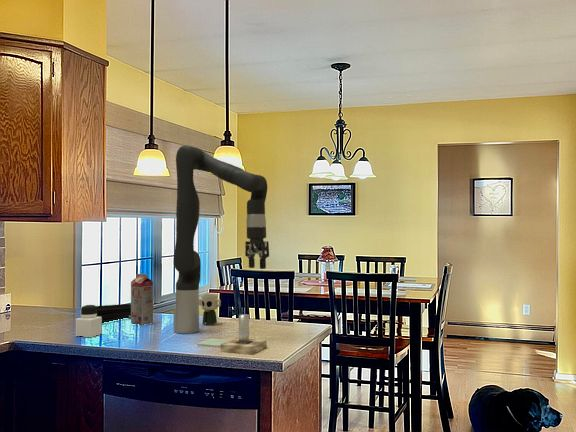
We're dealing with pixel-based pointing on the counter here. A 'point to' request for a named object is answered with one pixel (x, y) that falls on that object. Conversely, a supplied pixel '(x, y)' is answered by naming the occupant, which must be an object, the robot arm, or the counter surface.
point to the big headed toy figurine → (209, 307)
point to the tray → (114, 311)
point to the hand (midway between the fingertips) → (257, 268)
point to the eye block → (243, 346)
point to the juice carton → (141, 300)
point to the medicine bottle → (88, 322)
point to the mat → (212, 342)
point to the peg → (244, 329)
